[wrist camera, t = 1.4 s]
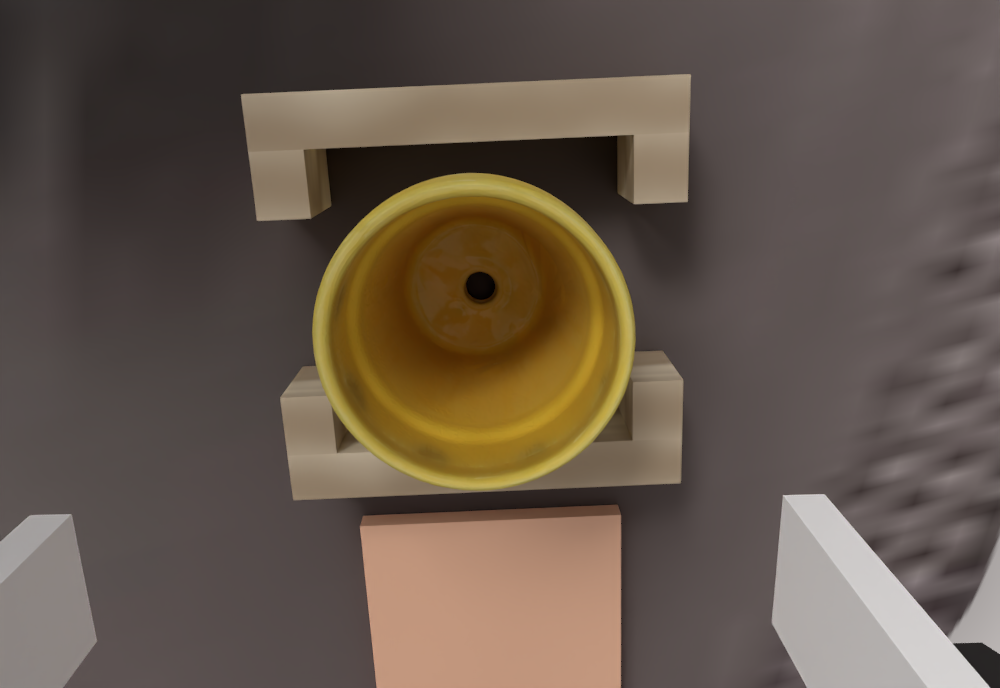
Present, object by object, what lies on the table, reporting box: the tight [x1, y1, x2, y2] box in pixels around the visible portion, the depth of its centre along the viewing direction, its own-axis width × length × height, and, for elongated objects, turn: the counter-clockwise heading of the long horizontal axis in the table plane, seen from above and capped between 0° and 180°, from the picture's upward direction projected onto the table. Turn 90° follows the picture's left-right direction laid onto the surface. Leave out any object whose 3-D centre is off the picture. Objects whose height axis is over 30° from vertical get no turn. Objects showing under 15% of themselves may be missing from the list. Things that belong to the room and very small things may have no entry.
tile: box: [360, 505, 621, 688], centre depth 39 cm, size 12×12×1 cm
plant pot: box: [312, 173, 636, 491], centre depth 30 cm, size 10×10×10 cm
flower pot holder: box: [241, 74, 691, 500], centre depth 32 cm, size 16×16×4 cm
